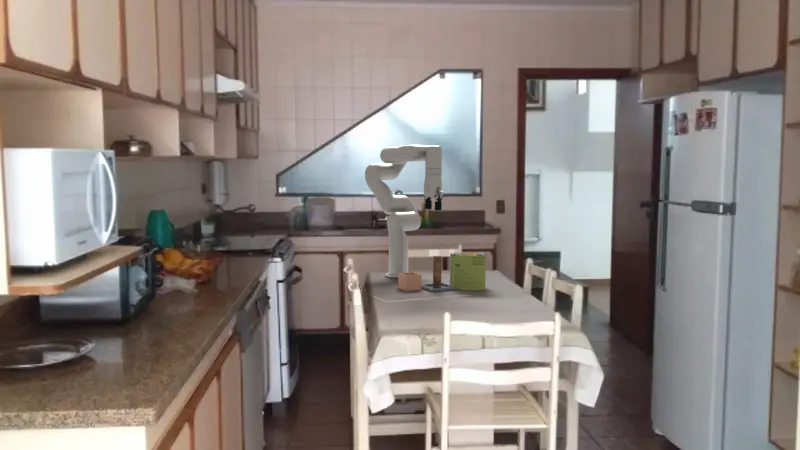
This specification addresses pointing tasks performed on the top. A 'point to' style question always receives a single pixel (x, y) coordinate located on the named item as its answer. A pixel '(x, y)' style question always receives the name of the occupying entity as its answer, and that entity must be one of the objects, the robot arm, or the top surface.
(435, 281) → the dowel
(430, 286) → the tray
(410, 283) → the holder
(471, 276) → the protein box
